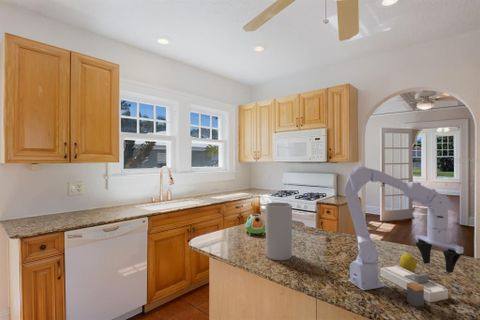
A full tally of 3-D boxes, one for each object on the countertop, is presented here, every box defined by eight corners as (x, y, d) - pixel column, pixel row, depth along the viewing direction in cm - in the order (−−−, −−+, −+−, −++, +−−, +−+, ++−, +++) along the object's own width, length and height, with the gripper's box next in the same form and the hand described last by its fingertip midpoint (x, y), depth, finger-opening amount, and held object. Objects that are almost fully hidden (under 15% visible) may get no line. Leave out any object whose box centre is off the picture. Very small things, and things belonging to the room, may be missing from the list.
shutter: (428, 282, 90) (428, 274, 90) (417, 283, 89) (417, 276, 89) (414, 275, 95) (414, 268, 95) (404, 277, 94) (404, 270, 94)
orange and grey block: (416, 306, 81) (416, 287, 81) (406, 301, 84) (406, 283, 84) (423, 305, 82) (423, 286, 82) (414, 299, 85) (414, 281, 85)
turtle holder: (259, 228, 175) (259, 211, 175) (267, 236, 157) (267, 216, 157) (242, 229, 172) (242, 211, 172) (248, 237, 154) (248, 217, 154)
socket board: (447, 298, 85) (447, 287, 85) (429, 302, 83) (429, 290, 83) (396, 273, 105) (396, 264, 105) (380, 275, 102) (380, 266, 102)
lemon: (400, 268, 109) (400, 250, 109) (416, 272, 105) (416, 253, 105) (398, 273, 105) (398, 253, 105) (415, 277, 101) (415, 257, 101)
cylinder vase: (260, 256, 123) (260, 204, 124) (275, 249, 133) (275, 201, 133) (282, 263, 115) (282, 207, 115) (296, 255, 124) (296, 204, 124)
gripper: (470, 232, 82) (470, 274, 82) (425, 222, 96) (425, 258, 96) (454, 234, 80) (454, 277, 80) (411, 223, 94) (411, 260, 94)
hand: (437, 267), depth 88 cm, fingers open, 7 cm apart
